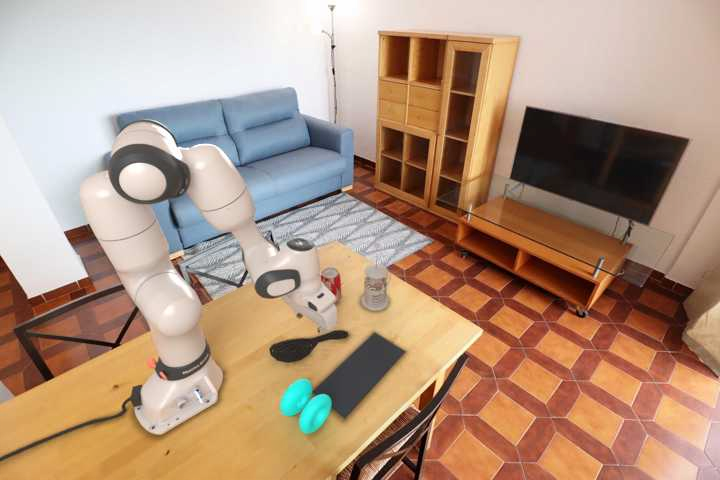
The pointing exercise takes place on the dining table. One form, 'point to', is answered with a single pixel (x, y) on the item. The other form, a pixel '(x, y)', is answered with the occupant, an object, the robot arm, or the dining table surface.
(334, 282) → the soda can
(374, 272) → the french press
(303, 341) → the hairbrush
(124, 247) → the robot arm
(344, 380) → the placemat
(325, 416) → the cyan yo-yo
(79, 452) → the dining table surface
